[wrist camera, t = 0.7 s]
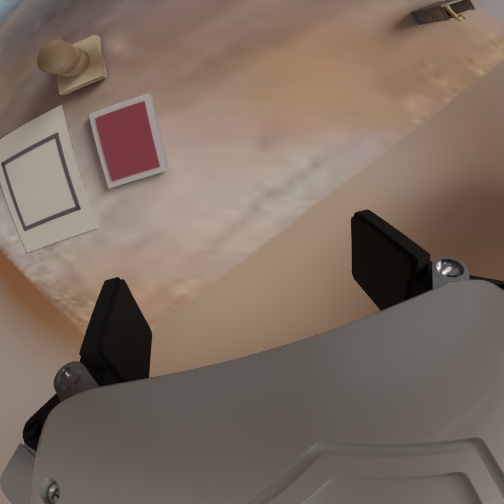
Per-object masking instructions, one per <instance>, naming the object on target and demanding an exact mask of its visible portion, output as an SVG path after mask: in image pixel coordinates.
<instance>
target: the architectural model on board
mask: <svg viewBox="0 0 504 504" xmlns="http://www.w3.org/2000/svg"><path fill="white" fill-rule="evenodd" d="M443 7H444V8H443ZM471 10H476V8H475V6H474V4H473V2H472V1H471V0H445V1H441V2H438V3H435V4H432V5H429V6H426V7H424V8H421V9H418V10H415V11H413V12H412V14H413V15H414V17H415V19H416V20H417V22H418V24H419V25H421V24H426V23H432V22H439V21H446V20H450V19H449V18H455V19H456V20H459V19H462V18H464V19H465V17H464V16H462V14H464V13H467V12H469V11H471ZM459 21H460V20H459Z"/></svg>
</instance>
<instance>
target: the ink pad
mask: <svg viewBox="0 0 504 504" xmlns="http://www.w3.org/2000/svg"><path fill="white" fill-rule="evenodd" d="M89 117H90V122H91V126H92V130H93V134H94V138H95V142H96V146H97V150H98V154H99V157H100V161H101V164H102V168H103V171H104V175H105V178H106V181H107V185H108V188H112V187H115V186H118V185H121V184H125V183H128V182H131V181H134V180H137V179H141V178H144V177H147V176H151V175H154V174H158V173H161V172H165V171H168V169H169V167H168V163H167V159H166V155H165V151H164V146H163V142H162V138H161V134H160V130H159V125H158V121H157V116H156V112H155V107H154V102H153V98H152V94H151V93H149V94H145V95H142V96H139V97H136V98H132V99H129V100H126V101H123V102H121V103H118V104H115V105H112V106H109V107H107V108H104V109H101V110H99V111H96V112H94V113H91V114H89Z"/></svg>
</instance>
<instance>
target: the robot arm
mask: <svg viewBox="0 0 504 504" xmlns="http://www.w3.org/2000/svg"><path fill="white" fill-rule="evenodd" d="M351 236H352V275H353V277H354V279H355V280H356V281H357V283H358V284H359V285H360V286H361V287H362V289H363V290H364V291H365V292H366V293H367V295H368V296H369V297H370V298H371V299H372V301H373V302H374V303H375V304H376V306H377V307H378V308H379V309H380V310H381V311H379V312H377V313H374V314H372V315H369V316H366V317H364V318H361V319H359V320H356V321H353V322H351V323H348V324H345V325H342V326H340V327H337V328H334V329H331V330H328V331H326V332H323V333H320V334H317V335H314V336H311V337H308V338H305V339H302V340H299V341H296V342H292V343H289V344H286V345H283V346H279V347H276V348H273V349H269V350H266V351H262V352H259V353H256V354H252V355H248V356H245V357H241V358H237V359H233V360H229V361H225V362H221V363H217V364H213V365H208V366H204V367H200V368H196V369H191V370H186V371H182V372H177V373H172V374H167V375H162V376H157V377H151V378H149V369H150V355H151V343H152V332H151V329H150V327H149V325H148V323H147V322H146V320H145V318H144V316H143V314H142V313H141V311H140V309H139V307H138V305H137V303H136V301H135V299H134V297H133V296H132V294H131V292H130V290H129V288H128V286H127V284H126V282H125V280H123V279H122V280H121V279H120V278H119V277H116V278H112V279H109V280H106V281H105V282H104V284H103V286H102V289H101V292H100V294H99V297H98V299H97V302H96V305H95V308H94V310H93V313H92V316H91V319H90V322H89V325H88V328H87V331H86V334H85V337H84V340H83V343H82V346H81V349H80V353H79V354H80V356H81V359H80V362H78V361H75V362H70V363H67V364H66V365H64V366H63V367H62V368H61V369H60V370H59V371H58V372H57V374H56V376H55V379H54V388H55V391H56V394H55V395H54V396H53V397H52V398H51V399H50V400H49V401H48V402H47V403H46V404H45V405H44V406H43V407H41V408H40V409H39V410H38V411H37V412H36V413H35V414H34V415H33V416H32V417H31V418H30V419H29V420H28V421H27V422H26V424H25V426H24V429H23V439H24V442H25V444H24V445H23V444H21V443H20V444H19V446H18V448H17V449H16V451H15V453H14V454H13V456H12V458H11V459H10V461H9V463H8V465H7V466H6V468H5V470H4V472H3V474H2V476H1V482H0V484H1V489H2V491H3V493H4V494H5V495H6V497H7V498H8V499H9V501H10V502H11V503H12V504H504V281H499V280H494V279H488V278H483V277H477V276H471V275H469V273H468V269H467V267H466V265H465V264H464V263H463V262H462V261H460V260H458V259H456V258H452V257H439V258H437V259H435V260H434V262H431V261H430V254H429V253H428V252H426V251H425V250H424V249H422V248H421V247H420V246H419V245H417V244H416V243H415V242H413V241H412V240H411V239H409V238H408V237H407V236H405V235H404V234H403V233H401V232H400V231H399V230H397V229H396V228H394V227H393V226H391V225H390V224H389V223H387V222H386V221H384V220H383V219H382V218H380V217H379V216H377V215H376V214H374V213H373V212H371V211H370V210H363V211H359V212H356V213H355V214H354V217H352V218H351Z"/></svg>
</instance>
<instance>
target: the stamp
mask: <svg viewBox="0 0 504 504" xmlns="http://www.w3.org/2000/svg"><path fill="white" fill-rule="evenodd" d="M37 64H38V67H39V69H40V70H41V71H43V72H47V73H52V74H56V78H57V84H58V90H59V95H67V94H69V93H71V92H73V91H76V90H78V89H80V88H82V87H85V86H87V85H89V84H92V83H94V82H97V81H99V80H102V79H105V78H107V74H106V69H105V63H104V57H103V50H102V43H101V37H99V36H98V35H97V34H95V35H93V36H90V37H88V38H85V39H83V40H81V41H79V42H76V43H74V44H72V45H71V44H69V43H67V42H65V41H63V40H61V39H54V40H52V41H50V42H48V43H47V44H46V45H45V46H44V47H43V48H42V49H41V51H40V53H39V55H38V59H37Z"/></svg>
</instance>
